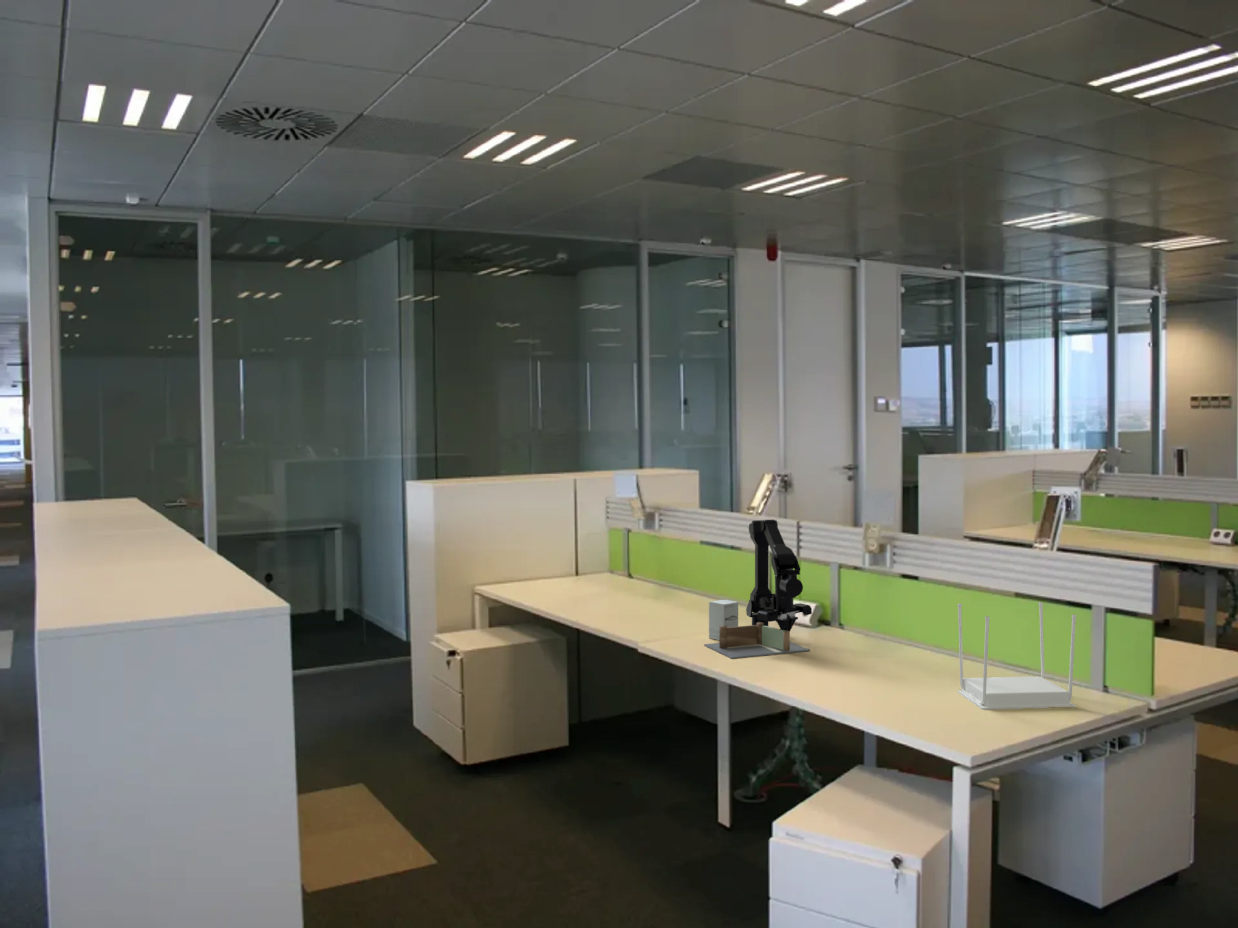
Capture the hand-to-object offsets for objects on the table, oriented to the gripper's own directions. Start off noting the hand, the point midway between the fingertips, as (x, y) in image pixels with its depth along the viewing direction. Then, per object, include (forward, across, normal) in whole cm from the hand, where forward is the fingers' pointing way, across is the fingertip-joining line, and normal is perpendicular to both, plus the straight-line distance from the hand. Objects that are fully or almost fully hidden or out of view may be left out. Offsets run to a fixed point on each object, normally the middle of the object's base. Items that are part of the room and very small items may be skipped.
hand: (785, 638), depth 332 cm
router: (+4, -12, +78) cm, 79 cm away
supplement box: (+4, +6, -25) cm, 26 cm away
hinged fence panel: (+3, +3, -2) cm, 4 cm away
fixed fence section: (+3, +9, -11) cm, 15 cm away
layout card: (+4, +6, -7) cm, 10 cm away
